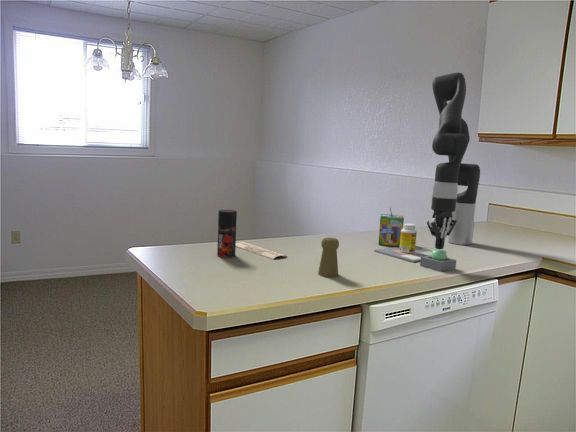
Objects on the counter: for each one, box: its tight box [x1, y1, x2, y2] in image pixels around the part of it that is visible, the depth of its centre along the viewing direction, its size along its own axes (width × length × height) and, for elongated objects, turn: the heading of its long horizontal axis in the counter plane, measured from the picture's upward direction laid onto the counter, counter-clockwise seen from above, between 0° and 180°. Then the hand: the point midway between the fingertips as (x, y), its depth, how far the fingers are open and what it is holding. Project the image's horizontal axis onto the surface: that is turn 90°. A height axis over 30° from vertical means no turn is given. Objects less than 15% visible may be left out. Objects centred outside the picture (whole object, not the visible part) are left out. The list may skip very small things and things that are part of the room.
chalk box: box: [378, 207, 405, 247], centre depth 189 cm, size 9×9×15 cm
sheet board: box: [373, 246, 448, 263], centre depth 173 cm, size 19×18×1 cm
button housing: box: [419, 255, 457, 273], centre depth 155 cm, size 8×8×3 cm
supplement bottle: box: [399, 223, 418, 253], centre depth 172 cm, size 6×6×10 cm
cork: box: [317, 237, 340, 278], centre depth 139 cm, size 6×6×11 cm
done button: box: [431, 249, 447, 261], centre depth 155 cm, size 4×4×4 cm
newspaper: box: [236, 241, 288, 260], centre depth 165 cm, size 24×7×2 cm, turn 40°
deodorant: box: [216, 209, 238, 259], centre depth 156 cm, size 6×6×15 cm
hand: (439, 248), depth 154 cm, fingers closed
